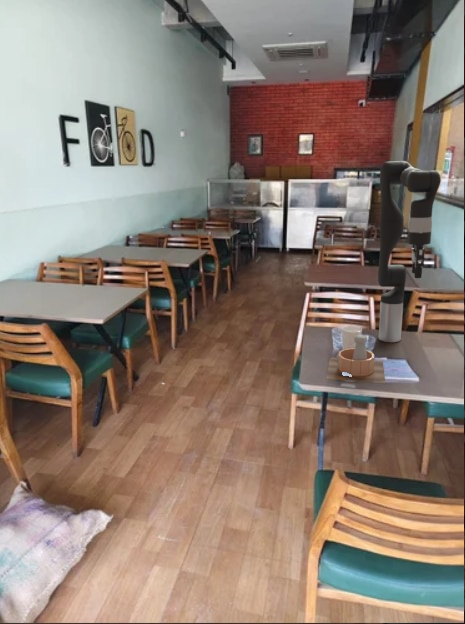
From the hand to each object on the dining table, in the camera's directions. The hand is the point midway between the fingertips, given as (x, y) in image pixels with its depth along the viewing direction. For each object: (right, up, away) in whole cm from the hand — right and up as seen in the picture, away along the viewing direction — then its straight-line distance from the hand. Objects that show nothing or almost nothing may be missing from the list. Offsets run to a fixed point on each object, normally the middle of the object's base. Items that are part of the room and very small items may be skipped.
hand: (416, 275), depth 155 cm
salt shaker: (-20, -34, +1) cm, 40 cm away
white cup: (-17, -30, +23) cm, 42 cm away
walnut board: (-21, -35, +4) cm, 41 cm away
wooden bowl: (-21, -35, +4) cm, 41 cm away
